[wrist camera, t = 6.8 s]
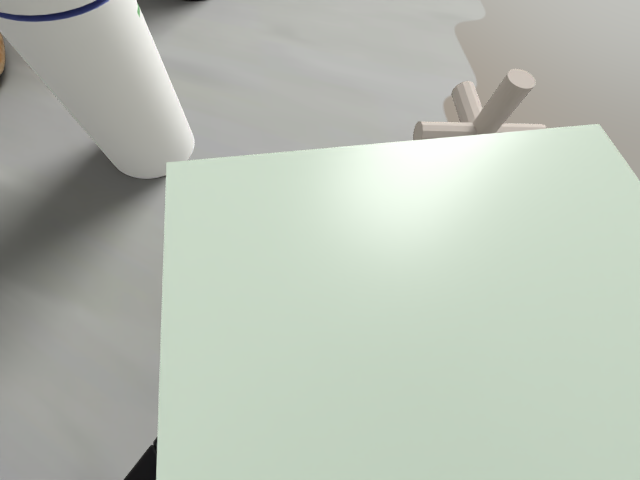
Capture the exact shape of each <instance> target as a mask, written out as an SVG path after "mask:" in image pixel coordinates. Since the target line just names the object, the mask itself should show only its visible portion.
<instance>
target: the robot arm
mask: <svg viewBox="0 0 640 480" xmlns="http://www.w3.org/2000/svg"><path fill="white" fill-rule="evenodd" d="M156 468H157V438H156V439H155V440H154V442H153V445H151V446H150V447H149V448H148V449H147V451H146V452H145V453H144V454H143V456H142V457H141V458H140V460H139V461H138V462H137V464H136V465H135V466H134V467H133V469H132V470H131V471H130V472H129V473H128V475H127V476H126V477H125V478H124V480H156Z"/></svg>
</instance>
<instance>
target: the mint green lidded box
mask: <svg viewBox="0 0 640 480" xmlns="http://www.w3.org/2000/svg"><path fill="white" fill-rule="evenodd" d="M156 480H640V181H639V179H638V178H637V176H636V175H635V174H634V172H633V171H632V169H631V168H630V167H629V165H628V164H627V163H626V161H625V160H624V158H623V157H622V155H621V154H620V153H619V151H618V150H617V148H616V147H615V146H614V144H613V143H612V141H610V139H609V137H608V136H607V134H606V133H605V132H604V130H603V129H602V127H601V126H600V125H599V124H593V125H582V126H571V127H559V128H548V129H537V130H525V131H514V132H503V133H491V134H480V135H469V136H458V137H446V138H435V139H424V140H413V141H401V142H390V143H379V144H367V145H356V146H345V147H334V148H322V149H311V150H300V151H289V152H277V153H266V154H255V155H243V156H232V157H221V158H210V159H198V160H187V161H176V162H167V163H166V193H165V224H164V254H163V285H162V315H161V346H160V376H159V407H158V437H157V468H156Z"/></svg>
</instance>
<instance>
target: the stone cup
mask: <svg viewBox="0 0 640 480" xmlns="http://www.w3.org/2000/svg"><path fill="white" fill-rule="evenodd" d="M4 65H5V46H4V41H3V37H2V34H1V32H0V75H1V73H2V72H3V69H4Z"/></svg>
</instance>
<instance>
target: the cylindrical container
mask: <svg viewBox="0 0 640 480" xmlns="http://www.w3.org/2000/svg"><path fill="white" fill-rule="evenodd" d="M0 32H1V34H2V35H3V36H4V37H5V38H6V39H7V41H8V42H9V43H10V44H11V45H12V46H13V48H14V49H15V50H16V51H17V52H18V53H19V55H20V56H21V57H22V58H23V59H24V60H25V62H26V63H27V64H28V65H29V66H30V67H31V69H32V70H33V71H34V72H35V73H36V74H37V76H38V77H39V78H40V79H41V80H42V81H43V83H44V84H45V85H46V86H47V87H48V88H49V90H50V91H51V92H52V93H53V94H54V95H55V97H56V98H57V99H58V100H59V101H60V102H61V104H62V105H63V106H64V107H65V108H66V109H67V111H68V112H69V113H70V114H71V115H72V116H73V118H74V119H75V120H76V121H77V122H78V123H79V125H80V126H81V127H82V128H83V129H84V130H85V132H86V133H87V134H88V135H89V136H90V137H91V139H92V140H93V141H94V142H95V143H96V144H97V146H98V147H99V148H100V149H101V150H102V151H103V153H104V154H105V155H106V156H107V157H108V158H109V160H110V161H111V162H112V163H113V164H114V165H115V167H117V168H118V169H119V170H120V171H121V172H123V173H124V174H126V175H129V176H132V177H135V178H141V179H150V178H158V177H161V176H165V175H166V163H167V162H176V161H187V160H188V159H189V158H190V156H191V155H192V152H193V150H194V144H195V143H194V136H193V134H192V131H191V129H190V126H189V124H188V122H187V119H186V117H185V114H184V112H183V110H182V107H181V105H180V103H179V100H178V98H177V95H176V93H175V91H174V88H173V86H172V84H171V81H170V79H169V76H168V74H167V72H166V69H165V67H164V64H163V62H162V60H161V57H160V55H159V53H158V50H157V48H156V45H155V43H154V41H153V38H152V36H151V33H150V31H149V29H148V26H147V24H146V22H145V19H144V17H143V14H142V12H141V10H140V7H139V5H138V3H137V0H0Z"/></svg>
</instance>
